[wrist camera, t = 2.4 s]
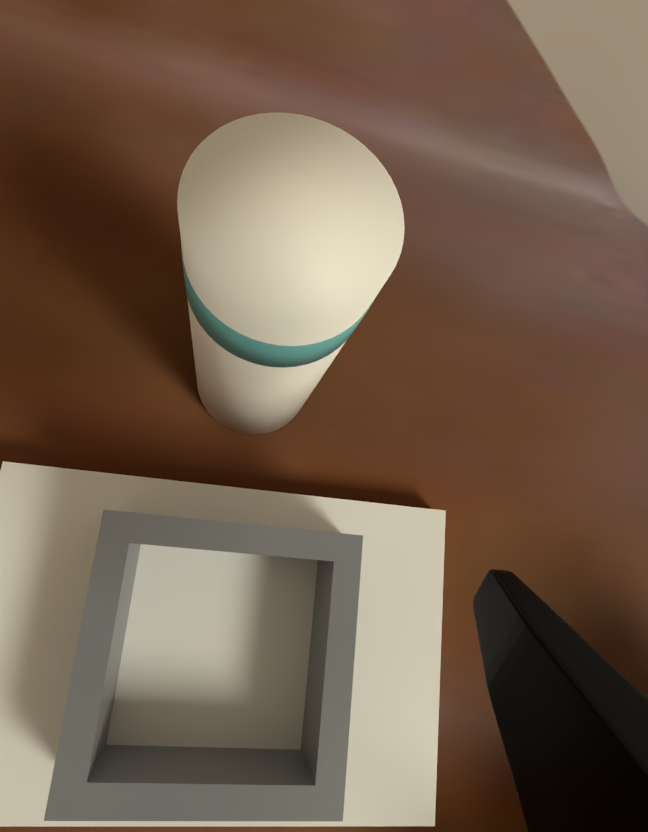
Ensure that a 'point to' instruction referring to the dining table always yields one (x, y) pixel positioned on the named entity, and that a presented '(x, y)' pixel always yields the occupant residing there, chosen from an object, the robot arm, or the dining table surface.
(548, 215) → the dining table surface
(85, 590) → the jig
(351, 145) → the teal-banded cream cylinder
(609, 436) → the dining table surface
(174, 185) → the dining table surface
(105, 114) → the dining table surface
